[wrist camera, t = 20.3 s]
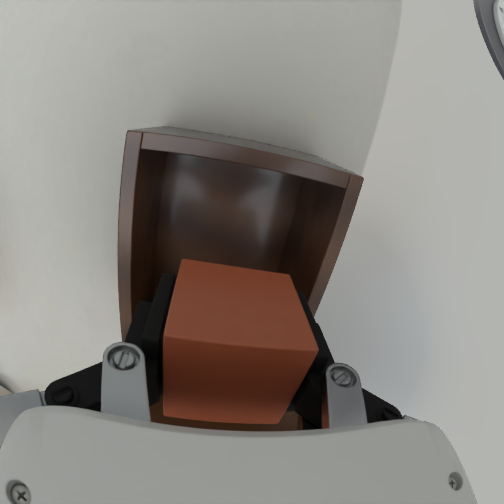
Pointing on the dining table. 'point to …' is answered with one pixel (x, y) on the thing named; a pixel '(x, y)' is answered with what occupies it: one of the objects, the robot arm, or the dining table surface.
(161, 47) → the dining table surface
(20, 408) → the robot arm
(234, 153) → the chest
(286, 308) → the block
